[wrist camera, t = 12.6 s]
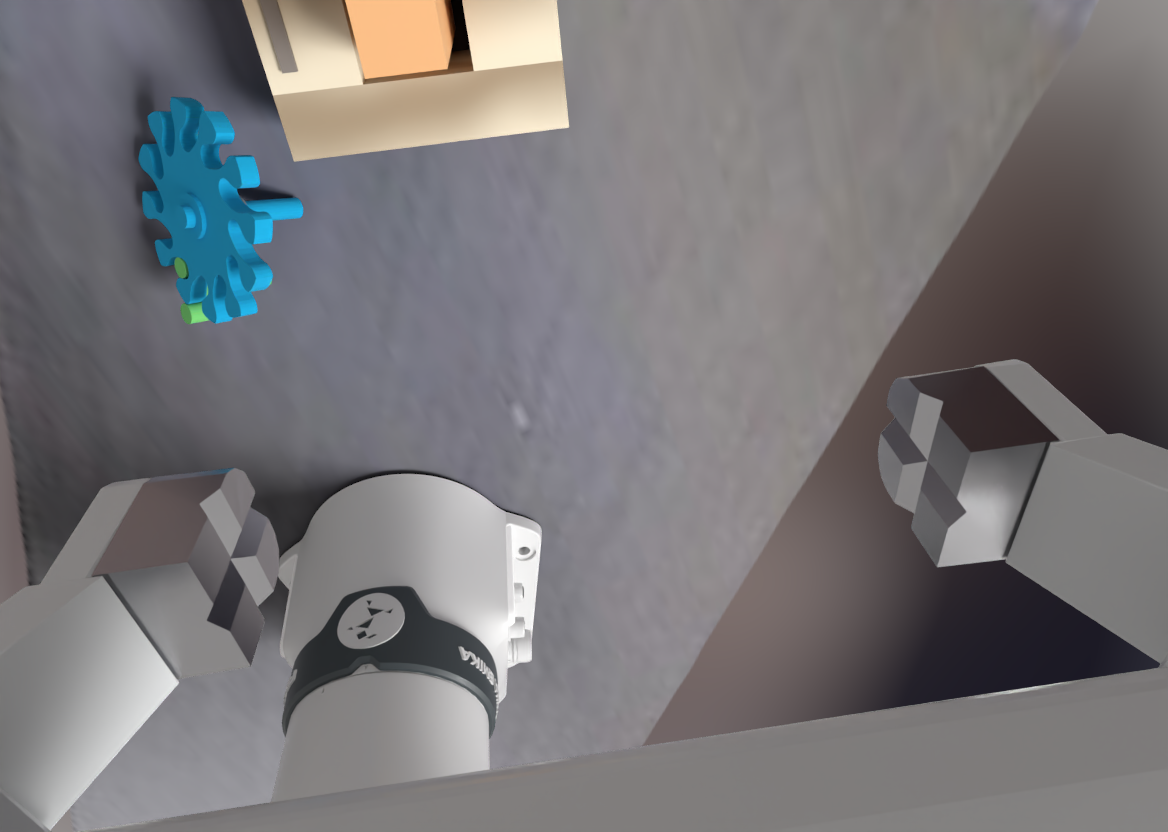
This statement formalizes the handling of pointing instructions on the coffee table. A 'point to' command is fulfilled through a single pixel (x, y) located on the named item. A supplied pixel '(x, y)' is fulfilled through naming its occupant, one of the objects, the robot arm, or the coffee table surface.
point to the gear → (208, 212)
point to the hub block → (409, 79)
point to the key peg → (402, 35)
